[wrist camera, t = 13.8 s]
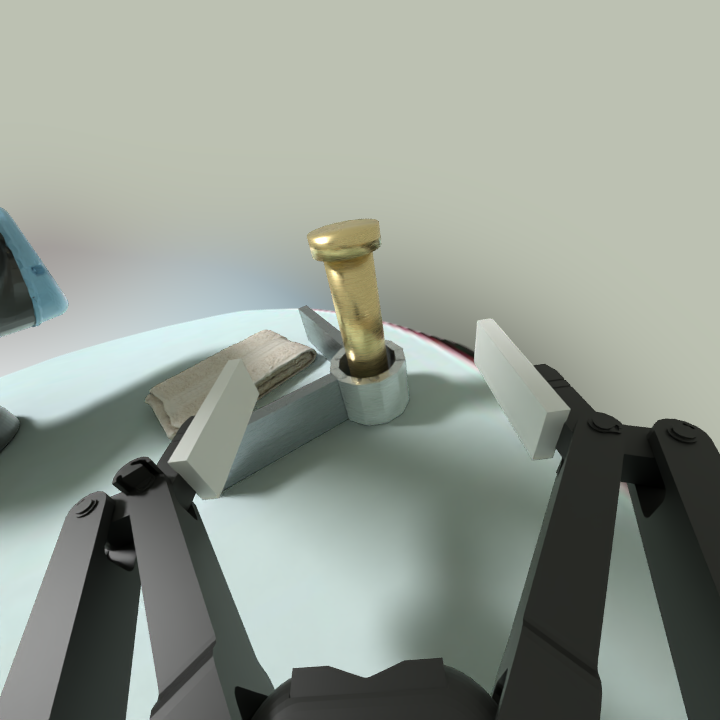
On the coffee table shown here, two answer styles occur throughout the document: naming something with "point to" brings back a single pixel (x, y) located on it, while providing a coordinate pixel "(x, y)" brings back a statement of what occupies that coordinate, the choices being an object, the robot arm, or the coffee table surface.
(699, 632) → the robot arm
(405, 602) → the coffee table surface
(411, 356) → the coffee table surface
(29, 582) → the coffee table surface
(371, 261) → the hinge pin
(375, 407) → the hinge
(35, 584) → the coffee table surface
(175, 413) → the washcloth
